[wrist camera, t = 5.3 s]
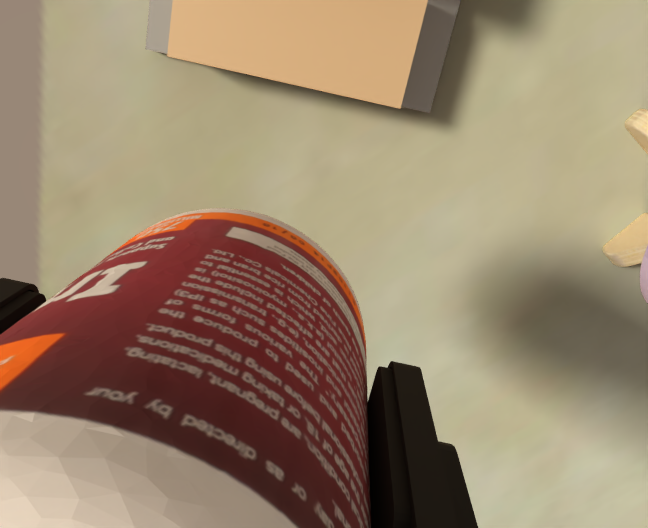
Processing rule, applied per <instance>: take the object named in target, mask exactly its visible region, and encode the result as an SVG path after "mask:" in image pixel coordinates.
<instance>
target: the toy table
mask: <svg viewBox="0 0 648 528" xmlns="http://www.w3.org/2000/svg"><path fill="white" fill-rule="evenodd" d="M625 127H626V129H627V130H628V131H629V133H630V134H631V135H632V136H633V137H634V138H635V140H636V141H637V142H638V143H639V144H640V146H641V147H642V148H643V149H644V150H645V151H646V153H647V154H648V110H646V109H639V110H638V111H636V112H635V113H634V114H632V115H631V116H630V117H629V118H628V119H627V120H626V122H625ZM602 250H603V252H604V254H605V255H606V256H607V257H608V258H609V259H610V260H611V262H612V263H613V264H614V265H617V266H621V267H627V266H632V265H636V264H640V263H642V264H641V269H640V287H641V293H642V295H643V297H644V299H645V301H646V302H647V303H648V213H644V214H642V215H641V216H640V217H638V218H637V219H636V220H635V221H633V222H632V223H631V224H630V225H628V226H627V227H626V228H625V229H624V230H622V231H621V232H620V233H619V234H617V235H616V236H615V237H614V238H612V239H611V240H610V241H609V242H608V243H607V244H605V245H604V246H603V248H602Z"/></svg>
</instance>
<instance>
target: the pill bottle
mask: <svg viewBox="0 0 648 528" xmlns="http://www.w3.org/2000/svg"><path fill="white" fill-rule="evenodd" d="M367 405H368V401H367V371H366V340H365V333H364V326H363V320H362V316H361V312H360V308H359V304H358V301H357V299H356V297H355V294H354V292H353V290H352V288H351V286H350V284H349V282H348V280H347V278H346V277H345V275H344V274H343V272H342V271H341V269H340V268H339V267H338V265H337V264H336V263H335V262H334V260H333V259H332V258H331V257H330V256H329V255H328V254H327V253H326V252H325V251H324V250H323V249H322V248H321V247H320V246H319V245H318V244H317V243H315V242H314V241H313V240H311V239H310V238H309V237H307V236H306V235H305V234H303V233H302V232H300V231H299V230H297V229H295V228H293V227H291V226H290V225H287V224H285V223H283V222H281V221H279V220H277V219H274V218H272V217H269V216H266V215H263V214H259V213H255V212H251V211H246V210H239V209H224V208H216V209H201V210H196V211H191V212H186V213H181V214H179V215H176V216H173V217H170V218H167V219H165V220H162V221H160V222H158V223H156V224H155V225H153V226H151V227H149V228H147V229H146V230H144V231H142V232H141V233H139V234H137V235H136V236H134V237H133V238H132V239H130V240H129V241H128V242H126V243H125V244H123V245H122V246H121V247H119V248H118V249H117V250H115V251H114V252H113V253H111V254H110V255H109V256H107V257H106V258H105V259H103V260H102V261H101V262H100V263H99V264H97V265H95V266H94V267H93V268H91V269H90V270H88V271H87V272H86V273H85V274H83V275H82V276H80V277H79V278H78V279H76V280H75V281H73V282H72V283H71V284H69V285H68V286H67V287H65V288H64V289H62V290H61V291H60V292H59V293H57V294H56V295H55V296H53V297H52V298H50V299H49V300H47V301H46V302H45V303H43V304H42V305H41V306H39V307H38V308H36V309H35V310H34V311H32V312H31V313H29V314H28V315H27V316H25V317H24V318H22V319H21V320H19V321H18V322H17V323H15V324H14V325H13V326H11V327H10V328H9V329H7V330H6V331H5V332H3V333H2V334H1V335H0V528H371V502H370V475H369V446H368V412H367Z"/></svg>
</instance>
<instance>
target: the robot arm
mask: <svg viewBox="0 0 648 528" xmlns="http://www.w3.org/2000/svg"><path fill="white" fill-rule="evenodd" d="M45 302H46V298H45V296H44V295H43V294H40V293H39V291H38V288H37V287H36V286H35V285H34V284H29V283H25V282H20V281H15V280H11V279H6V278H1V279H0V335H1V334H2V333H3V332H5V331H6V330H7V329H9V328H10V327H11V326H13V325H14V324H15V323H17V322H18V321H19V320H21V319H22V318H24V317H25V316H27V315H28V314H29V313H31V312H32V311H34V310H35V309H36V308H38V307H39V306H41V305H42V304H43V303H45ZM367 412H368V446H369V475H370V502H371V528H478V526H477V522H476V519H475V515H474V511H473V508H472V504H471V501H470V497H469V494H468V490H467V487H466V483H465V479H464V476H463V472H462V469H461V465H460V462H459V458H458V454H457V451H456V449H455V447H454V446H453V445H452V444H448V443H443V442H439V441H438V440H437V435H436V431H435V427H434V423H433V419H432V414H431V410H430V406H429V402H428V397H427V393H426V389H425V385H424V380H423V376H422V372H421V369H420V367H416V366H411V365H407V364H402V363H397V362H393V361H391V362H390V364H389V366H388V368H385V367H380V366H379V367H378V369H377V372H376V375H375V379H374V383H373V386H372V390H371V393H370V397H369V400H368V405H367Z"/></svg>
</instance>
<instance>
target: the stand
mask: <svg viewBox="0 0 648 528" xmlns="http://www.w3.org/2000/svg"><path fill="white" fill-rule="evenodd" d="M460 1H461V0H150V4H149V15H148V27H147V39H146V49H147V50H152V51H156V52H161V53H165V54H167V56H168V57H173V58H177V59H182V60H186V61H190V62H195V63H199V64H204V65H208V66H213V67H217V68H222V69H226V70H230V71H235V72H239V73H244V74H248V75H253V76H257V77H262V78H266V79H270V80H275V81H279V82H284V83H288V84H293V85H297V86H302V87H306V88H310V89H315V90H319V91H324V92H328V93H333V94H337V95H342V96H346V97H350V98H355V99H359V100H364V101H368V102H373V103H377V104H382V105H386V106H390V107H395V108H399V109H401V107H405V108H409V109H414V110H418V111H422V112H427V113H430V111H431V107H432V104H433V100H434V96H435V93H436V89H437V85H438V82H439V78H440V74H441V71H442V67H443V63H444V60H445V56H446V53H447V49H448V45H449V42H450V38H451V34H452V31H453V27H454V23H455V20H456V16H457V12H458V9H459V5H460Z"/></svg>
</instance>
